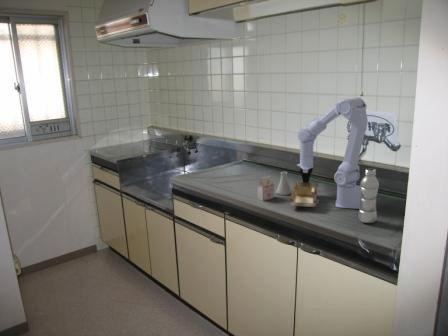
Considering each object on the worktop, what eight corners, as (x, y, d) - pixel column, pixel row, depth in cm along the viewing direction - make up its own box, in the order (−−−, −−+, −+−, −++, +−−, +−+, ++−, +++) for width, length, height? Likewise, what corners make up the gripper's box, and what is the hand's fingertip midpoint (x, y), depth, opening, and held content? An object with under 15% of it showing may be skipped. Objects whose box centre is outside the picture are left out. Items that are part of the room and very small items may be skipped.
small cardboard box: (317, 188, 172) (317, 182, 171) (315, 206, 152) (315, 200, 151) (294, 187, 175) (294, 181, 174) (289, 205, 154) (289, 198, 153)
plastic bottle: (357, 224, 139) (360, 171, 134) (358, 217, 145) (361, 166, 140) (376, 226, 136) (380, 172, 132) (376, 219, 142) (380, 167, 138)
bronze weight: (311, 191, 164) (312, 182, 163) (311, 196, 159) (311, 187, 157) (297, 191, 166) (297, 182, 165) (296, 195, 160) (296, 186, 159)
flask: (281, 190, 181) (281, 169, 179) (294, 192, 177) (294, 171, 175) (273, 193, 176) (273, 173, 174) (286, 196, 172) (286, 175, 169)
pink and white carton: (257, 199, 170) (257, 177, 167) (268, 195, 173) (268, 174, 171) (262, 201, 167) (262, 179, 164) (274, 197, 170) (274, 176, 168)
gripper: (298, 151, 177) (298, 179, 181) (296, 158, 164) (295, 188, 167) (314, 152, 175) (313, 180, 179) (313, 159, 162) (312, 189, 165)
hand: (305, 184), depth 173 cm, fingers closed
